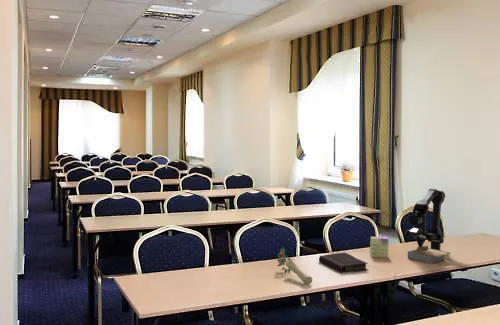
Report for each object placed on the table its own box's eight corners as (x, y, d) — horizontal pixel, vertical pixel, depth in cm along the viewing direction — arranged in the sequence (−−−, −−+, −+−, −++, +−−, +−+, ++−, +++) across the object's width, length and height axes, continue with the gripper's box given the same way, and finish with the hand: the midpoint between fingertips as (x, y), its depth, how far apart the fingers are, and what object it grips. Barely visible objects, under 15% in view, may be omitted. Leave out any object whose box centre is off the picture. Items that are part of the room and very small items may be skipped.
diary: (340, 274, 284) (340, 265, 283) (318, 263, 307) (318, 255, 307) (369, 270, 290) (369, 262, 290) (346, 260, 313) (346, 252, 313)
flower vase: (300, 299, 262) (270, 267, 293) (320, 290, 266) (289, 259, 297) (296, 280, 258) (266, 250, 288) (317, 271, 262) (285, 242, 292)
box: (386, 255, 325) (387, 236, 324) (388, 257, 319) (388, 238, 319) (369, 254, 326) (370, 236, 325) (371, 257, 320) (371, 238, 320)
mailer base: (421, 254, 326) (421, 248, 326) (443, 260, 314) (444, 252, 313) (407, 258, 318) (407, 251, 318) (430, 263, 305) (430, 256, 305)
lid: (426, 248, 323) (427, 244, 323) (450, 253, 310) (450, 249, 310) (413, 251, 314) (413, 247, 314) (437, 257, 302) (437, 252, 302)
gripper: (400, 222, 320) (399, 247, 321) (426, 226, 305) (425, 252, 306) (411, 220, 327) (410, 244, 328) (437, 224, 312) (436, 250, 313)
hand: (420, 248), depth 319 cm, fingers closed
